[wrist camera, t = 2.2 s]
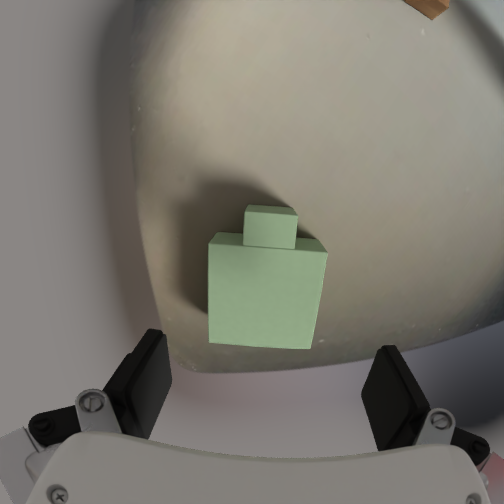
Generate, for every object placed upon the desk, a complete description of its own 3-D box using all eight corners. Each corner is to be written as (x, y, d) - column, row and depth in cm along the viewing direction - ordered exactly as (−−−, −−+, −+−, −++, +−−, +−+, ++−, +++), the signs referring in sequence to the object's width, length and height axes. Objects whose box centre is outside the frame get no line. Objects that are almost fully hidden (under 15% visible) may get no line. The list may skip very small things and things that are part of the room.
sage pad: (215, 320, 21) (208, 342, 18) (217, 202, 18) (208, 208, 15) (305, 326, 21) (310, 349, 18) (322, 210, 18) (332, 218, 15)
